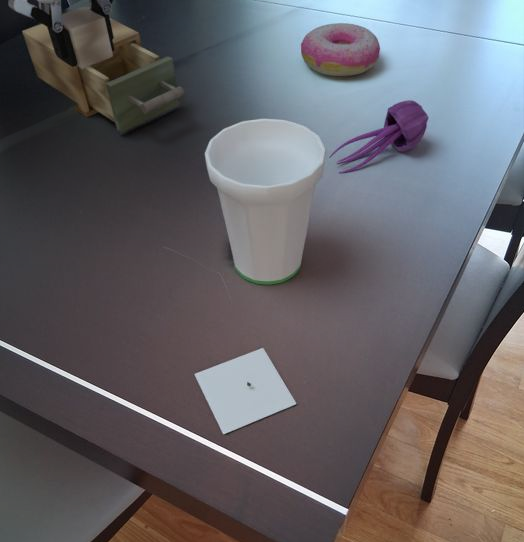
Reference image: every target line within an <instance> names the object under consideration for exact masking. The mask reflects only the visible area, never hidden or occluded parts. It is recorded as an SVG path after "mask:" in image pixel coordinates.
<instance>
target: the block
mask: <svg viewBox="0 0 524 542" xmlns="http://www.w3.org/2000/svg"><path fill="white" fill-rule="evenodd" d="M62 22H63V27H64V29H66V30H68V32H69V34H70V38H71V41H72V45H73V49H74V52H75V56H76V60H77V66H78V67H80V68H81V69H83V68H86V67H88V66H91V65H93V64H96V63H98V62H101V61H103V60H106V59H108V58H111V57H113V53H112V49H111V44H110V40H109V36H108V31H107V27H106V22H105V18H104V17H103V16H101V15H99V14H97V13H95V12H93V11H91V10H90V9H88V8H87V7H86V6H81V7H79V8H76V9H73V10H70V11H67V12H64V13H62Z"/></svg>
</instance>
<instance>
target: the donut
mask: <svg viewBox="0 0 524 542" xmlns="http://www.w3.org/2000/svg"><path fill="white" fill-rule="evenodd" d="M380 53H381V45H380V42H379V39H378V37H377V36H376V35H375V33H373V32H372V31H371V30H369V29H368V28H367V27H365V26H362V25H359V24H355V23H348V22H346V23H344V22H338V23H329V24H324V25H321V26H318V27H316V28H313V29H312V30H311V31H309V32H307V33H306V34H305V35H304V37H303V39H302V41H301V43H300V55H301V57H302V59H303V61H304V63H305V64H306V65H307V66H308V67H309V68H311V69H312V70H313V71H315V72H317V73H319V74H322V75H325V76H332V77H350V76H351V77H352V76H356V75H361V74H362V73H365V72H367V71H368V70H371V69H372V68H373V67H374V66H375V64H376V63H377V61H378V60H379V57H380Z"/></svg>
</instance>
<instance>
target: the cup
mask: <svg viewBox="0 0 524 542" xmlns="http://www.w3.org/2000/svg"><path fill="white" fill-rule="evenodd" d="M326 153H327V149H326V147H325V144H324V143H323V140H322V139H321V137H320V135H318V134H317V133H315V131H312V130H311V129H309V128H308V127H307V126H306V125H303V124H299V123H296V122H293V121H290V120H287V119H278V118H277V119H275V118H258V119H257V118H256V119H251V120H241V121H240V122H238V123H235V124H233V125H230V126H228V127H225V128H223V129H222V130H221V131H219V132H218V133H217V134H216V135H214V136H213V137H212V138H211V139H210V140H209V142H208V144H207V146H206V149H205V151H204V158H205V164H206V165H205V166H206V169H207V174H208V177H209V181H210V182H211V184H213V186H214V187H215V188H216V190H217V193H218V199H219V202H220V207H221V212H222V216H223V220H224V223H225V224H224V225H225V228H226V232H227V237H228V241H229V245H230V249H231V254H232V259H233V266H234V269H235V272H237V273H238V274H239V276H241V277H242V278H243V279H244V280H246V281H248V282H250V283H253V284H256V285H267V286H268V285H276V284H281V283H284V282H286V281H289V280H290V279H291V278H293V277H294V276H295V275H296V274H297V273H298V272H299V270H300V269H301V266H302V259H303V254H304V249H305V245H306V244H305V243H306V238H307V233H308V229H309V223H310V222H309V221H310V217H311V211H312V206H313V202H314V197H315V191H316V186H317V184H318V182H319V181H320V180H321V179H322V178H323V175H324V169H325V164H326V163H325V162H326Z"/></svg>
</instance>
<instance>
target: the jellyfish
mask: <svg viewBox="0 0 524 542" xmlns="http://www.w3.org/2000/svg"><path fill="white" fill-rule="evenodd" d="M386 111H387V112H386V116H385V119H384V123H383V127H381V128H378V129H375V130H372V131H370V132H365V133H364V134H361V135H358V136H355V137H353V138H351V139H349V140H347V141H346V142H344V143H343V144H342V145H340V146H339V147H337V148H336V149H335V150H334V151H333V152H332V153H331V155H330V156H329V157H328V158H329V159H331V158H332V157H333V156H334V155H335V154H336V153H337V152H338V151H340V150H341V149H343V148H344V147H346V146H348V145H350V144H352V143H355V142H359V141H362V140H365V139H369V138H371V139H370V140H369V141H368V142H366V144H364V145H363V146H362V147H360V148H359V149H358V150H356V151H354V152H353V153H351V154H350V155H348V156H346V157H344V158H341V159H339V160H337V163H336V165H342V164H345V163H349V162H352V161H355V160H357V159H359V158H362V157H364V156H366V155H368V154H370V153H371V152H373V151H374V152H373V153H371V154H370V155H369V156H368V157H367V158H366V159H364V160H363V161H362V162H360V163H359V164H357V165H355V166H353V167H351V168H349V169H345V170H342V171H338V174H342V173H343V174H344V173H349V172H353V171H355V170H358V169H360V168H362V167H363V166H365V165H366V164H368V163H370V162H371V161H373V160H374V159H375V158H376V157H378V155H380V154H382V152H383V151H385V149H387V148H388V147H389V146H390V145H391V146H393V147H394V149H395V150H396V151H397V152H406V151H407V152H408V151H410V150H413V149H414V148H415V147H416V146H418V145H419V143H420V142H421V140H422V139H423V137H424V135H425V133H426V131H427V128H428V120H429V115H428V114H427V112H426V111H425V110H424V108H423V106H422V105H421V104H419V103H418V102H416V101H415V100H412V99H411V100H409V99H407V100H403V101H399V102H396V103H394V104H392V106H390V107H388V108H387V110H386Z"/></svg>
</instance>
